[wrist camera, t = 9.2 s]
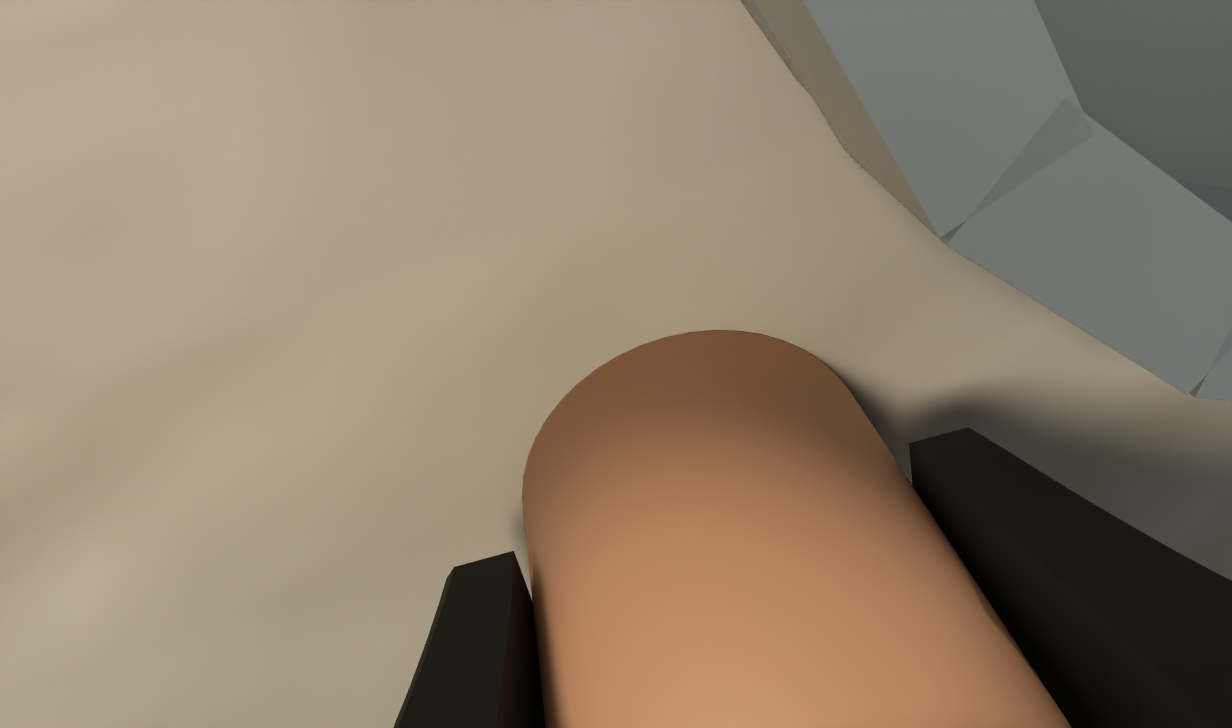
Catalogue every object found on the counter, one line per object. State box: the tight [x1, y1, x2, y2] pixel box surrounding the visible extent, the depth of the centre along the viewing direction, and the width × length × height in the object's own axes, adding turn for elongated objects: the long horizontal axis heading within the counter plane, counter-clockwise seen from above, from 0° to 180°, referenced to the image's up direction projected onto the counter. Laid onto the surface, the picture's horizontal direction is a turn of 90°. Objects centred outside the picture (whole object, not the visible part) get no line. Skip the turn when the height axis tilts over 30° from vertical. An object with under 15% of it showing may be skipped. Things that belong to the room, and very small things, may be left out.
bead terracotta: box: [522, 330, 1072, 728], centre depth 9 cm, size 4×4×5 cm
